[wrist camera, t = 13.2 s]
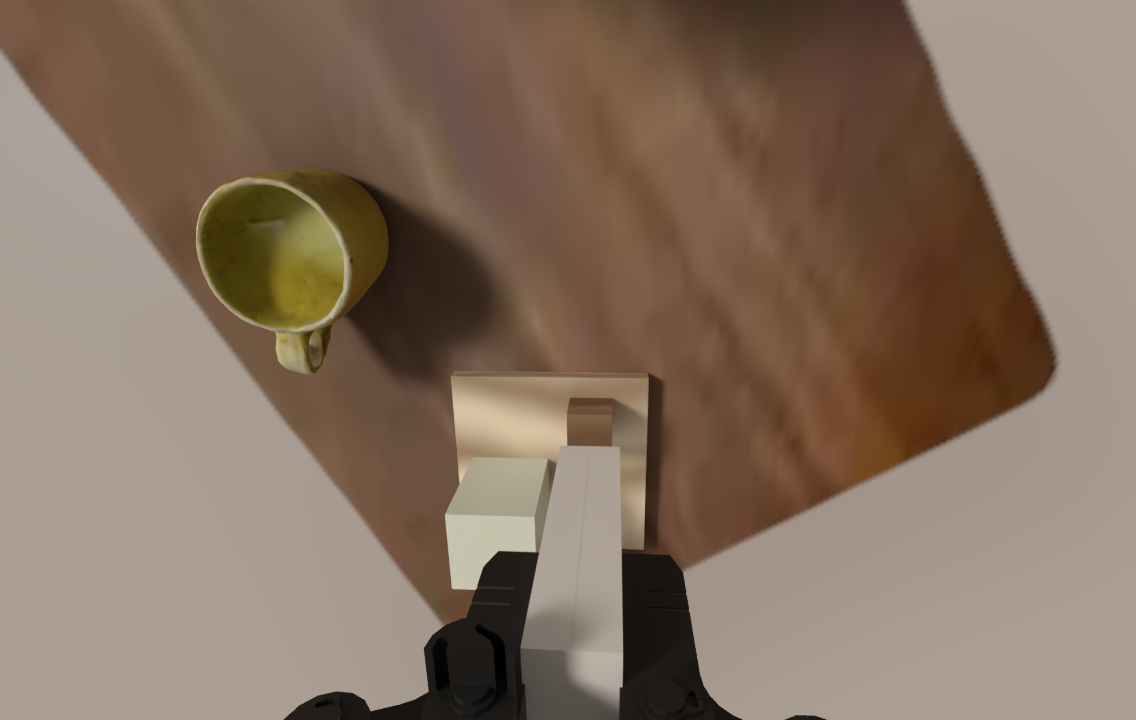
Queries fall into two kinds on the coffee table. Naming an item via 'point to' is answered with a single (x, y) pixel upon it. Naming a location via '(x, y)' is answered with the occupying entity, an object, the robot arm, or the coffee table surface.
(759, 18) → the coffee table surface
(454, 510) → the pale green block
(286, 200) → the mug
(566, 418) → the board
